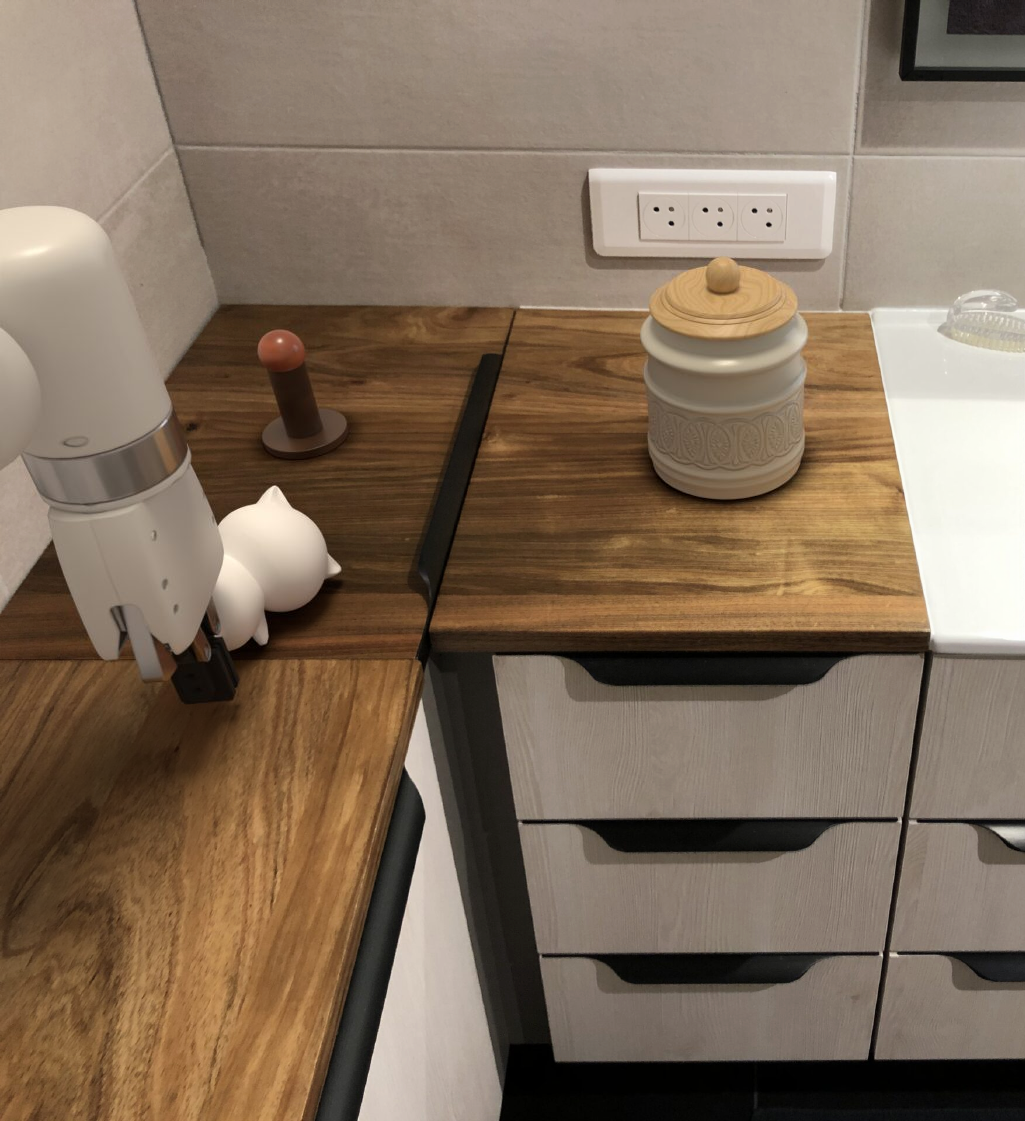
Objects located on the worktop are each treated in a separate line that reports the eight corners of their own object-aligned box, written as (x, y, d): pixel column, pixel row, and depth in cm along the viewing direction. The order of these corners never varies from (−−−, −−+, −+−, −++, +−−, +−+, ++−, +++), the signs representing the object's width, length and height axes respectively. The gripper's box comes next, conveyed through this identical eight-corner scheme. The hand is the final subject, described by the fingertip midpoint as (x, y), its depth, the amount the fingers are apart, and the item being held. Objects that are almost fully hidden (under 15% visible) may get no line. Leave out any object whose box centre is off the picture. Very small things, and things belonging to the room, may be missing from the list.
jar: (776, 517, 88) (779, 309, 77) (624, 486, 91) (605, 283, 80) (822, 431, 97) (831, 236, 86) (683, 406, 101) (673, 215, 90)
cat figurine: (152, 568, 68) (297, 464, 76) (91, 593, 75) (229, 495, 83) (246, 677, 71) (375, 566, 79) (179, 692, 78) (304, 588, 86)
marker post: (283, 469, 93) (248, 362, 87) (251, 434, 98) (216, 329, 91) (362, 439, 97) (334, 334, 91) (328, 407, 101) (300, 304, 95)
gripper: (80, 383, 65) (182, 620, 77) (-26, 541, 53) (113, 792, 65) (215, 374, 66) (295, 610, 77) (139, 529, 54) (247, 779, 66)
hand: (212, 693), depth 71 cm, fingers closed
